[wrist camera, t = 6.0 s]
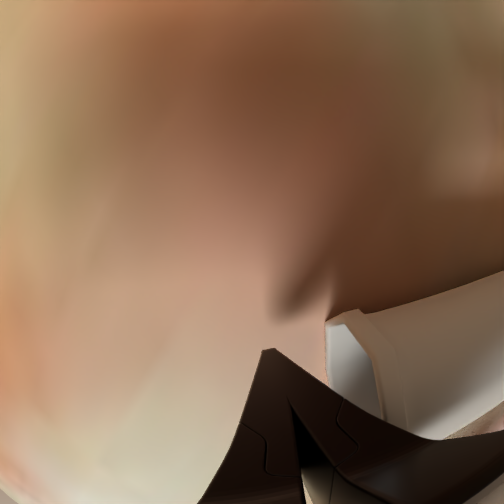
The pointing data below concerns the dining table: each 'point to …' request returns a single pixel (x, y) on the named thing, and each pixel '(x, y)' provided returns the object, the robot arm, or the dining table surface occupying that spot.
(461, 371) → the tube
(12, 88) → the dining table surface
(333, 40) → the dining table surface
